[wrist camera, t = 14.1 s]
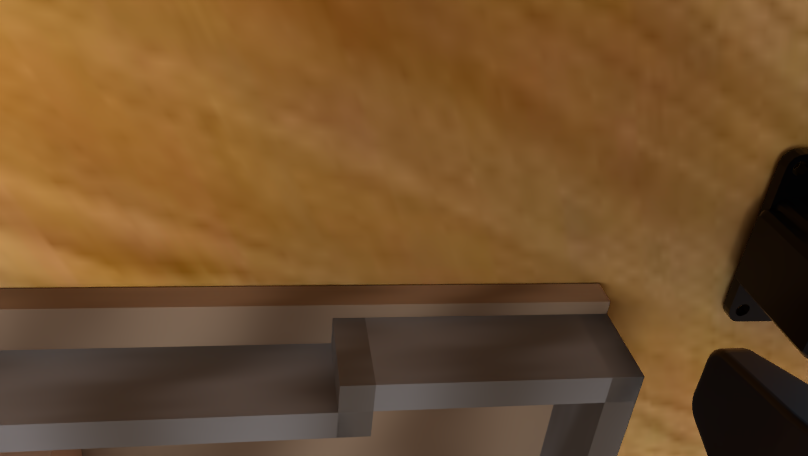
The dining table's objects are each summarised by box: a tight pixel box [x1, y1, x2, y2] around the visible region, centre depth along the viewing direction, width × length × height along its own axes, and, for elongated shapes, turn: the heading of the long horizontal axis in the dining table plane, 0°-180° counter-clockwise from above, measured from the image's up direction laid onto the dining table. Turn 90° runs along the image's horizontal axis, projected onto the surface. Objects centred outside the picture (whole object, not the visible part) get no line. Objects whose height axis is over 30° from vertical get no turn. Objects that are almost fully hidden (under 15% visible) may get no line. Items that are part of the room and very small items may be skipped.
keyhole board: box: [0, 284, 644, 456], centre depth 25 cm, size 22×10×4 cm, turn 84°
